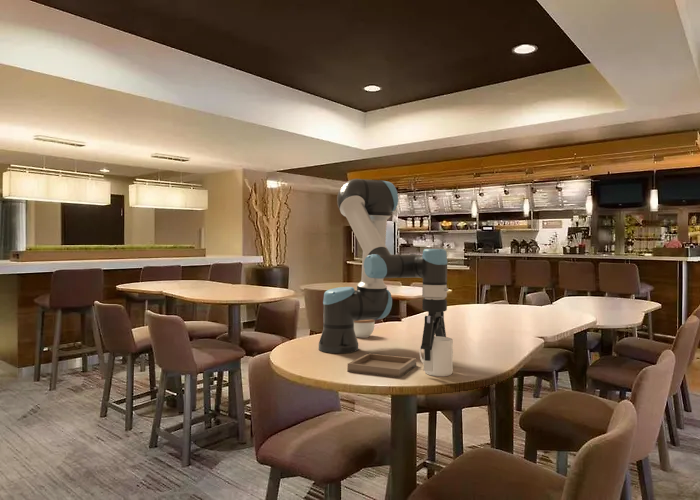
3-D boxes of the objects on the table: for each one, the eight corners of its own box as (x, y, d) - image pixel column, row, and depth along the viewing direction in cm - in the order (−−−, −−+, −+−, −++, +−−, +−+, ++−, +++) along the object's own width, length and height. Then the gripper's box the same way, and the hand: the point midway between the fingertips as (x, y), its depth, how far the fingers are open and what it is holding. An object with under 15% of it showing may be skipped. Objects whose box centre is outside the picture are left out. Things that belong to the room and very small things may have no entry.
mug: (428, 366, 164) (428, 333, 164) (458, 373, 155) (458, 339, 155) (410, 370, 158) (410, 336, 158) (440, 378, 149) (440, 342, 149)
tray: (347, 371, 156) (347, 363, 156) (368, 360, 172) (368, 353, 172) (399, 377, 149) (399, 369, 149) (416, 365, 165) (416, 358, 165)
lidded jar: (347, 334, 222) (347, 313, 222) (369, 333, 226) (369, 313, 226) (354, 339, 212) (354, 317, 212) (378, 337, 215) (378, 316, 215)
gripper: (435, 302, 143) (435, 376, 143) (455, 295, 166) (455, 359, 166) (410, 301, 147) (410, 373, 147) (433, 294, 169) (433, 357, 169)
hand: (434, 366), depth 156 cm, fingers open, 13 cm apart
